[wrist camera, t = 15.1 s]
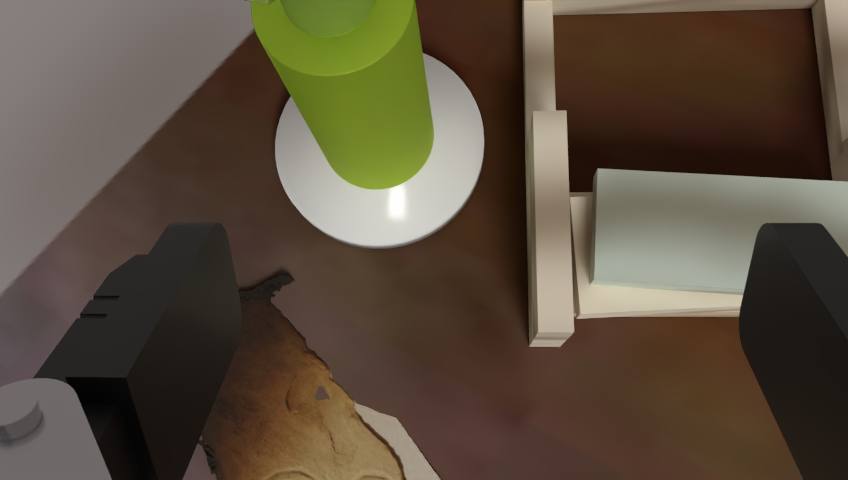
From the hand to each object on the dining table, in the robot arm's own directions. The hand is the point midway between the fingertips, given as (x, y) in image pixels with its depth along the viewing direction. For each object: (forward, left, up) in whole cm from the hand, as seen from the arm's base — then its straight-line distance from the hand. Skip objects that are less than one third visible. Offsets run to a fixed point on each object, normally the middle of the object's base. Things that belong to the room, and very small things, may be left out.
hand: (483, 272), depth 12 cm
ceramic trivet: (+1, +13, -27) cm, 30 cm away
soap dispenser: (+1, +13, -26) cm, 29 cm away
